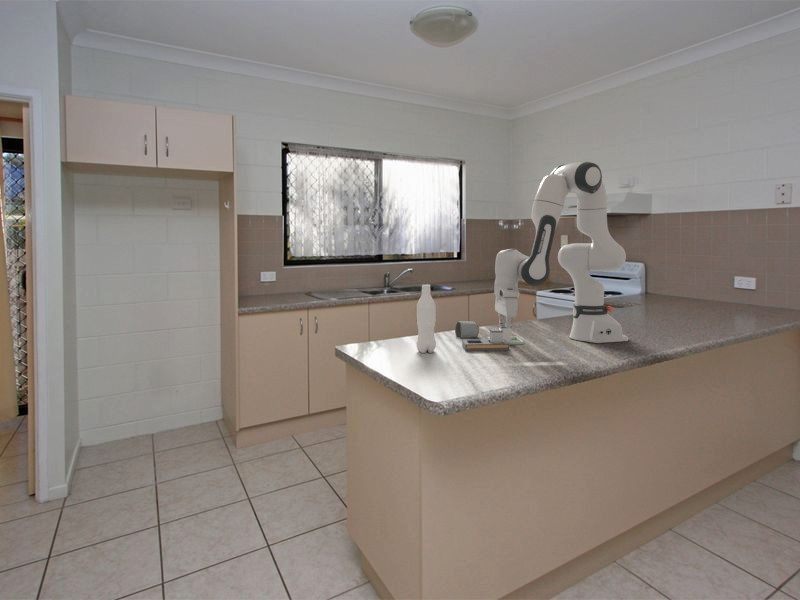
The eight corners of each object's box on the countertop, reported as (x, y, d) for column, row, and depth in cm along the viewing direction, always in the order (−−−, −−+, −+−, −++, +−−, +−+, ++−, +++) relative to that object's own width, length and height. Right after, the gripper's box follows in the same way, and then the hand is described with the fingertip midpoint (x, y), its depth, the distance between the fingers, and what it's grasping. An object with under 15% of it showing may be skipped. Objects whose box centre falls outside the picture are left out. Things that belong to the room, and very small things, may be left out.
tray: (517, 340, 200) (517, 336, 199) (523, 346, 190) (523, 341, 190) (487, 341, 200) (487, 336, 199) (492, 347, 190) (492, 342, 189)
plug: (509, 341, 197) (509, 324, 196) (511, 344, 193) (511, 326, 192) (498, 341, 197) (499, 324, 196) (501, 344, 193) (501, 326, 192)
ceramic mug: (480, 339, 203) (480, 321, 202) (461, 341, 200) (461, 322, 199) (468, 335, 213) (468, 317, 212) (451, 336, 210) (451, 318, 209)
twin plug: (500, 346, 186) (500, 328, 185) (502, 349, 182) (502, 330, 181) (489, 346, 186) (489, 328, 185) (491, 349, 181) (491, 330, 181)
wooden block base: (504, 348, 188) (504, 339, 187) (509, 353, 180) (509, 343, 179) (462, 348, 187) (462, 339, 187) (465, 353, 179) (465, 344, 179)
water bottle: (439, 350, 184) (439, 284, 181) (430, 354, 178) (430, 286, 175) (422, 348, 188) (422, 283, 185) (413, 352, 182) (412, 285, 179)
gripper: (491, 288, 201) (490, 322, 203) (504, 293, 181) (503, 330, 182) (507, 288, 202) (505, 322, 203) (521, 293, 181) (520, 330, 183)
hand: (504, 326), depth 193 cm, fingers open, 8 cm apart
